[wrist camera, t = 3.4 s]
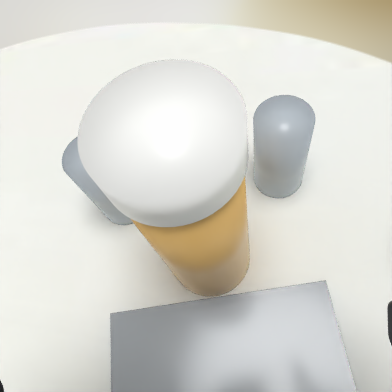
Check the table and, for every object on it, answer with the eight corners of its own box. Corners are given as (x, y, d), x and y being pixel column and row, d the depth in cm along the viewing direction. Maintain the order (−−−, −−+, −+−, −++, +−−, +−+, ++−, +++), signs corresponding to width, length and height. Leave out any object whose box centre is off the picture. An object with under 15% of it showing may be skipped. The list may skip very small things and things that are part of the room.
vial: (205, 317, 21) (139, 239, 9) (154, 253, 23) (48, 124, 11) (269, 260, 21) (285, 123, 10) (215, 204, 24) (175, 36, 12)
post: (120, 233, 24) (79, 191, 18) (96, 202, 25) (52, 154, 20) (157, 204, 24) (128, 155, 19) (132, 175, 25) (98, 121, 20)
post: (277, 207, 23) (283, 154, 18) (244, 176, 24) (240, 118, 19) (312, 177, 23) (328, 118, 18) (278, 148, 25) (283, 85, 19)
